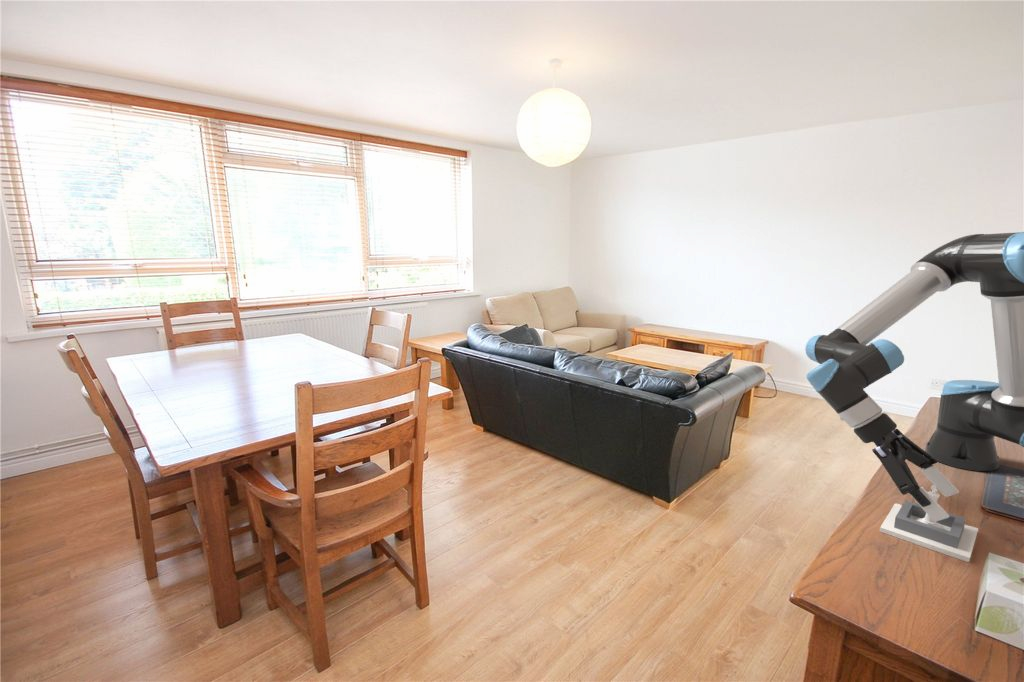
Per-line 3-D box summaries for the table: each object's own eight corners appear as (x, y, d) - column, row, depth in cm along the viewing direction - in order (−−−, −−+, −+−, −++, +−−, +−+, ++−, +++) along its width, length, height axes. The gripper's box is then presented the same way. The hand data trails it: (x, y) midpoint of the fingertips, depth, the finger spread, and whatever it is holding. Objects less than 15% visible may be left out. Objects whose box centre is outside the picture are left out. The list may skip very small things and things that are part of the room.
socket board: (894, 507, 109) (896, 493, 108) (977, 532, 98) (980, 518, 98) (879, 531, 100) (881, 516, 99) (969, 562, 90) (971, 546, 89)
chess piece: (936, 523, 101) (943, 481, 99) (948, 536, 96) (955, 492, 94) (909, 519, 102) (914, 478, 100) (919, 532, 98) (926, 489, 96)
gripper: (866, 414, 115) (938, 491, 107) (835, 444, 99) (917, 536, 91) (896, 399, 110) (974, 478, 102) (868, 427, 94) (958, 524, 86)
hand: (947, 506), depth 96 cm, fingers open, 13 cm apart
